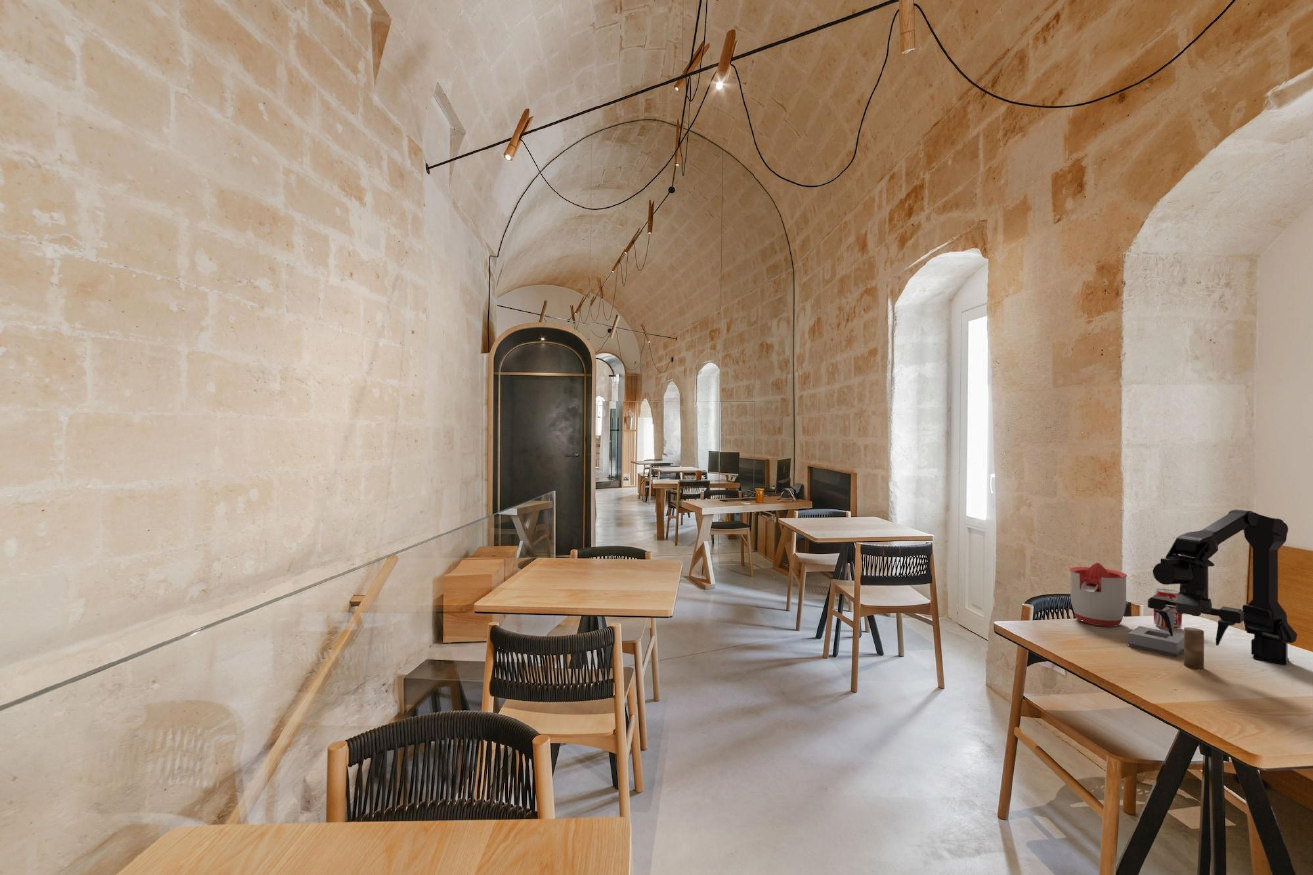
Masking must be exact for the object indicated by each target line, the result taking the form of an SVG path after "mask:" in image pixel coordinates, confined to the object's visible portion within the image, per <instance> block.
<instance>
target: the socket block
mask: <svg viewBox="0 0 1313 875" xmlns="http://www.w3.org/2000/svg"><path fill="white" fill-rule="evenodd" d="M1128 647H1129V648H1133V649H1139V650H1143V651H1148V652H1151V653H1156V654H1160V655H1166V656H1170V657H1174V658H1179V656H1180V655H1182V653H1184V633H1182V634H1181V633H1177V632H1174V635H1173V636H1171V635H1170V633H1169V631H1167V630H1161V629H1156V628H1151V627H1148V626H1147V627H1146V626H1141V625H1139V626H1137V627H1136V628H1134V629H1132V630H1131V631H1130V632H1128Z"/></svg>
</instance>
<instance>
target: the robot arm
mask: <svg viewBox="0 0 1313 875" xmlns="http://www.w3.org/2000/svg"><path fill="white" fill-rule="evenodd" d="M1242 531H1243V535H1244V539H1245V540H1246V541H1247V543H1248V544H1249V546H1250V547H1251V548H1252V555H1251V556H1252V599H1251V600H1250V601H1249V603H1248V604H1243V605H1242V607H1241V608H1236V607H1230V606H1225V605H1223V606H1222V607H1221V608H1215V607H1213V606H1212V605H1213V604H1212V599H1211V598H1209V567H1215V563H1214V562H1213V561H1211V560H1210V558H1212V557H1213V556H1214V555H1215V554H1216V553H1217V552H1218V551H1219V545H1220V544H1222V543H1224V542H1225V541H1227V540H1228V539H1230V538H1232V537H1233V536H1235V535H1236V534H1239V533H1240V532H1242ZM1288 532H1289V526H1288V525H1287V523H1286V522H1284V520H1283V519H1281V518H1275V517H1269V516H1266V515H1263V514H1259V513H1257V512H1254V511H1251V510H1243V509H1232V510H1230V511H1228V514H1226V515H1224V516H1222V517H1221V518H1220V519H1218V520H1216V521H1214V522H1213V523H1211V524H1209V525H1208V526H1206V527H1204V528H1202V529H1200V530H1195V531H1188V532H1185V533H1183V534H1180V535H1178V536H1177V537H1176V538H1175V541H1174V542H1173V544H1172V545H1171V547H1170V549H1169V551H1168V552H1167V554H1166V556H1165V558H1160V562H1159V563H1157V564H1155V565H1154V567H1153V569H1152V576H1153V577H1154V579H1155V580H1156V581H1157V582H1158V583H1159V584H1161V585H1166V586H1167V585H1179V591H1178V592H1179V594H1178V596H1177V599H1176V601H1175V602H1173V601H1171V599H1170V598H1169V597H1163V596H1157V595H1154V594H1153V595H1152V596H1150V597H1149V598H1148V600H1147V608H1148V609H1153V612H1154V611H1155V612H1158V613H1159V614H1160V615H1161V616H1162V618H1163V620H1164V621H1165V624H1166V626H1167V628H1168V629H1167V630H1168V631H1167V632H1169V633H1170V635H1171V636H1173V635H1174V633H1175V630H1174V625H1173V613H1172V608H1174V609H1176V611H1177V612H1178V613H1180V614H1182V615H1183V614H1185V615H1191V616H1193V617H1200V616H1201V614H1204V615H1209V616H1214V617H1215V616H1216V617H1219V620H1218V621H1217V630H1216V636H1215V646H1217V647H1218V646H1219V645H1220V643H1221V641H1222V640H1223V637H1224V634H1225V633H1226V630H1227V629H1228V628H1229V626H1234V625H1236V624H1241V623H1243V624H1244V627H1245V630H1246V633H1247V634H1251V635H1253V638H1252V639H1251V640H1250V641H1251V642H1250V643H1251V645H1250V646H1251V647H1250V651H1251V652H1250V654H1251V655H1252V659H1255V660H1260V661H1265V662H1270V663H1274V664H1279V665H1285V666H1286V665H1288V663H1289V661H1290V658H1289V657H1288V656H1289V655H1288V654H1289V652H1288V646H1289V645H1288V644H1293V643H1295V642H1297V638H1298V633H1297V632H1296V631H1295V629H1293V628H1292V626H1291V625H1290V624H1289V623H1288V617H1287V616H1288V614H1287V612H1286V611H1285V610H1284V608H1283V607H1282V606H1281V604H1280V603H1279V562H1278V561H1279V553H1278V552H1279V549H1280V548H1281V547H1282V546H1283V545H1284V544H1285V543H1286V542H1287V537H1288ZM1287 662H1288V663H1287Z"/></svg>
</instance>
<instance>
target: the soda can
mask: <svg viewBox="0 0 1313 875" xmlns="http://www.w3.org/2000/svg"><path fill="white" fill-rule="evenodd" d="M1178 594H1179V591H1178V590H1174V589H1167V588H1156V589H1155V593H1153V596H1154V595H1157V596H1163V597H1169V598H1170V599H1171V601H1173V602H1175V601H1176V599H1177V596H1178ZM1172 613H1173V625H1174V631H1178V630H1179V629H1182V625H1183V614H1180V613H1178V612H1177V611H1176V609H1174V608H1172ZM1153 623H1154V625H1156V626H1157V627H1158V628H1160V629H1164V630H1168V628H1167V626H1166V624H1165V621H1164V620H1163V618H1162V616H1161V615H1160V614H1159V613H1158V612H1155V611H1154V610H1153Z"/></svg>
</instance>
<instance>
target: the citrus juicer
mask: <svg viewBox="0 0 1313 875" xmlns="http://www.w3.org/2000/svg"><path fill="white" fill-rule="evenodd" d="M1069 571H1070V602H1071V606H1072V609H1073V613H1074V616H1075V618H1076V619H1077V620H1078V621H1080V620H1083V621H1082V623H1087V624H1090V625H1096V626H1102V627H1103V628H1104V627H1105V628H1110V627H1117V626H1120V624H1121V622H1122V621H1123V619H1124V618H1123V617H1124V614H1125V613H1126V612H1125V611H1126V608H1127V577H1128V574H1126V573H1125V572H1122V571H1119V570H1114V569H1108V568H1105V567H1104V566H1103V565H1102V564H1101V563H1099V562H1095V563H1093V564H1092V565H1091V566H1090V567H1089V566H1088V567H1087V566H1074V567H1070V568H1069Z"/></svg>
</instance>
